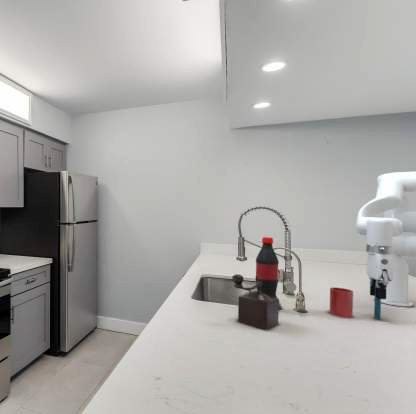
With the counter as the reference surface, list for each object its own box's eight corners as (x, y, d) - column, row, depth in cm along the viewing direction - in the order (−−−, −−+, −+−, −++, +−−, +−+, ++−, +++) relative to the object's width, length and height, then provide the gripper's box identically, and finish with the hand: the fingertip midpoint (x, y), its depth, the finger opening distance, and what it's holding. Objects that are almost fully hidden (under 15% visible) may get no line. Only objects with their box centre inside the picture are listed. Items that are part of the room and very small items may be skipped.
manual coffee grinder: (248, 315, 122) (249, 269, 122) (279, 324, 114) (280, 274, 114) (228, 324, 112) (229, 274, 112) (260, 334, 104) (261, 280, 104)
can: (332, 310, 131) (333, 286, 131) (354, 315, 125) (355, 290, 125) (326, 313, 127) (327, 289, 127) (349, 319, 121) (350, 293, 121)
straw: (374, 317, 123) (375, 282, 123) (380, 319, 122) (381, 283, 122) (373, 318, 122) (374, 282, 122) (379, 320, 121) (380, 283, 121)
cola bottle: (275, 306, 134) (276, 236, 134) (279, 312, 126) (281, 238, 126) (253, 304, 137) (254, 235, 137) (256, 310, 129) (258, 237, 129)
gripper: (402, 253, 113) (401, 304, 113) (380, 248, 128) (379, 293, 128) (376, 251, 115) (375, 301, 115) (358, 247, 131) (357, 290, 131)
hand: (377, 296), depth 122 cm, fingers open, 3 cm apart
